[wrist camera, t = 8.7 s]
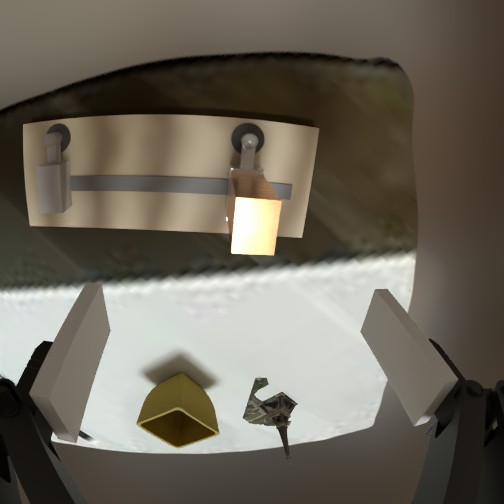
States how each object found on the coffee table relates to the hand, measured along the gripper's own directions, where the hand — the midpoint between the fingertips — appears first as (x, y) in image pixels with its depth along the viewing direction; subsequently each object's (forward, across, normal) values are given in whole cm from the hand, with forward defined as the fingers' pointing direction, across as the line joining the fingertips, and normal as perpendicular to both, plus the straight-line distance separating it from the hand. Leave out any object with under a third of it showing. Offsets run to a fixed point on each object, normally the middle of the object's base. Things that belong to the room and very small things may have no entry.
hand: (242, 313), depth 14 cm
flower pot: (+21, -6, -31) cm, 38 cm away
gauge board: (+21, -7, +2) cm, 22 cm away
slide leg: (+18, +2, +3) cm, 19 cm away
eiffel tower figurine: (+22, +10, -36) cm, 44 cm away
